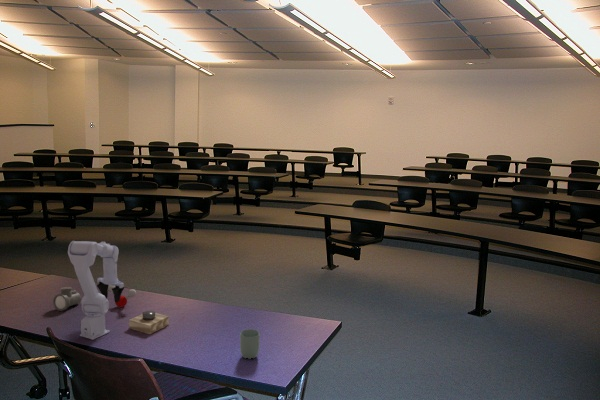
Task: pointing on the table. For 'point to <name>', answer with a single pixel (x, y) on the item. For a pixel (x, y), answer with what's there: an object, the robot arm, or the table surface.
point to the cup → (249, 343)
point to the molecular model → (123, 298)
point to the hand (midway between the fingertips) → (111, 300)
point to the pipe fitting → (66, 298)
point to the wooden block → (149, 323)
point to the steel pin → (148, 315)
